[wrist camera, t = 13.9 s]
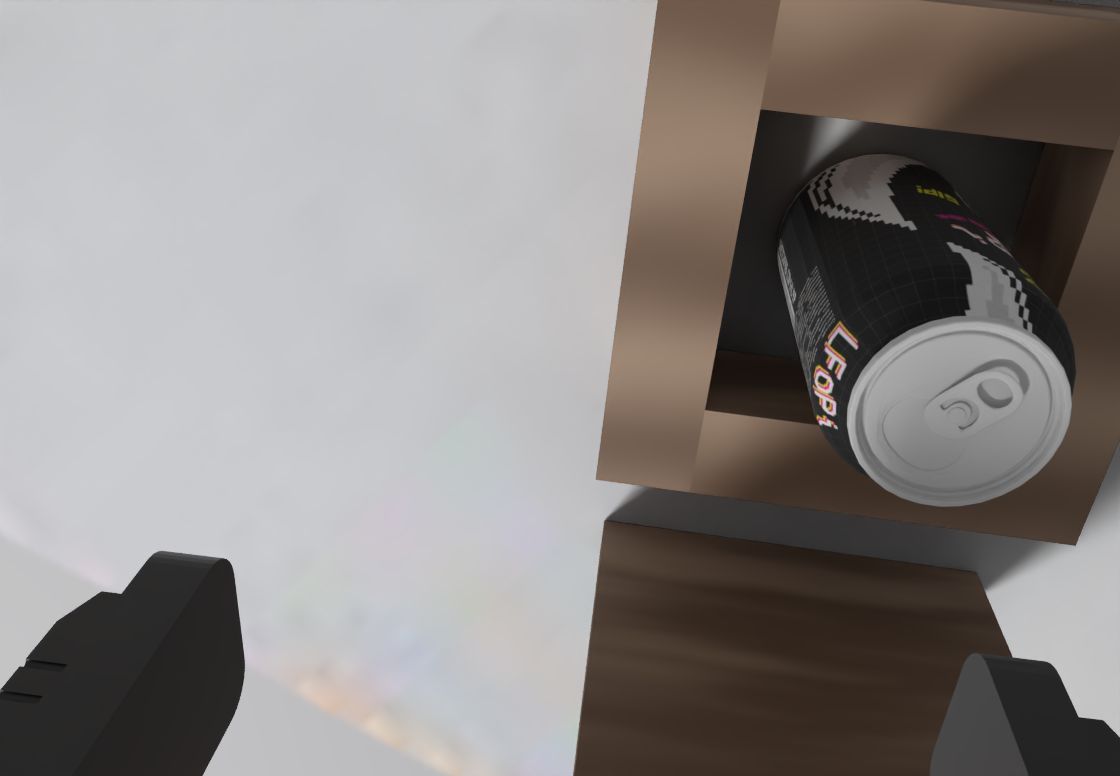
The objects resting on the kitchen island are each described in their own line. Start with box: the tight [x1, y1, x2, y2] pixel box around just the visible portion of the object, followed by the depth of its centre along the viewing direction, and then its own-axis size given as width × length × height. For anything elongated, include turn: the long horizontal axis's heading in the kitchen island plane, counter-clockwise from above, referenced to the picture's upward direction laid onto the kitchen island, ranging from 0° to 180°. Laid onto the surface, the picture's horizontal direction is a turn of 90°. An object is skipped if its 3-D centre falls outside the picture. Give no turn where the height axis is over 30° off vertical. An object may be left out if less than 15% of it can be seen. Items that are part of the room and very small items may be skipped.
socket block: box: [596, 0, 1120, 546], centre depth 29 cm, size 15×15×4 cm
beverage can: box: [777, 154, 1076, 507], centre depth 26 cm, size 6×6×12 cm
